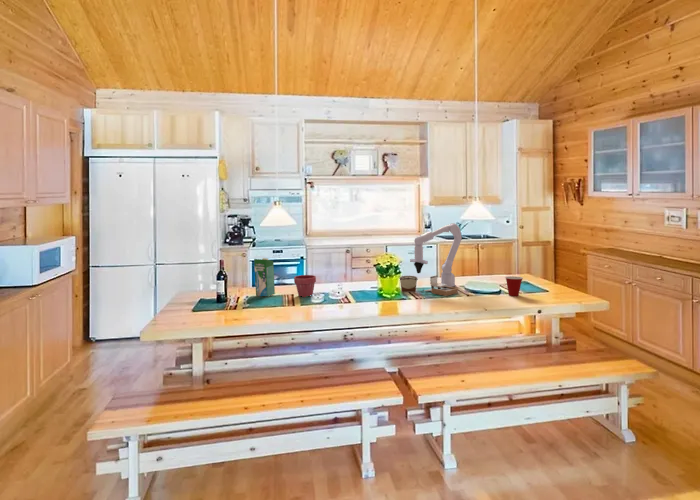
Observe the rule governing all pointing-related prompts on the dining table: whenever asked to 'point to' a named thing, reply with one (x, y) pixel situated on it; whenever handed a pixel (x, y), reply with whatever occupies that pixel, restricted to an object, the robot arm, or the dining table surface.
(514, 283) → the plastic cup
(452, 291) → the dock
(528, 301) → the dining table surface
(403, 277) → the food container
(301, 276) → the plant pot
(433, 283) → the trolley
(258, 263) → the milk carton
